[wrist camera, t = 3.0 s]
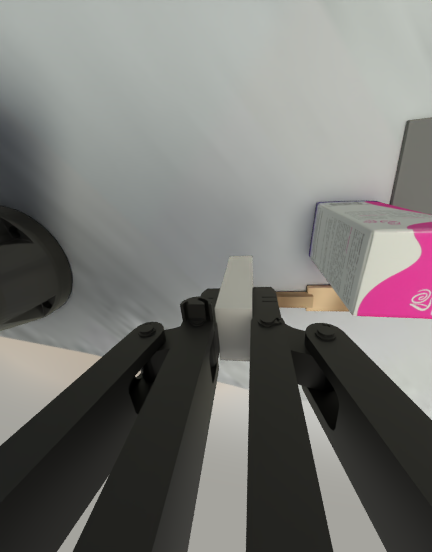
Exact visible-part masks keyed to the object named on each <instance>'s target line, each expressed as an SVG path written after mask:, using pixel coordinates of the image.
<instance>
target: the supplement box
mask: <svg viewBox="0 0 432 552" xmlns="http://www.w3.org/2000/svg"><path fill="white" fill-rule="evenodd" d="M309 256H310V258H311V259H312V260H313V262H314V263H315V264H316V266H317V267H318V269H319V270H320V271H321V273H322V274H323V275H324V277H325V278H326V280H327V281H328V282H329V284H330V285H331V286H332V288H333V289H334V291H335V292H336V293H337V295H338V296H339V297H340V299H341V300H342V302H343V303H344V304H345V306H346V307H347V308H348V310H349V311H350V313H351V314H352V315H353V316H372V317H399V318H425V319H432V215H430V214H425V213H421V212H417V211H413V210H409V209H405V208H401V207H397V206H393V205H389V204H385V203H381V202H377V201H338V202H317V205H316V210H315V218H314V225H313V231H312V238H311V244H310V251H309Z"/></svg>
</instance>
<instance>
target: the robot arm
mask: <svg viewBox="0 0 432 552" xmlns="http://www.w3.org/2000/svg"><path fill="white" fill-rule="evenodd" d="M71 287H72V276H71V270H70V267H69V264H68V261H67V259H66V256H65V254H64V252H63V251H62V249H61V247H60V246H59V244H58V243H57V242H56V240H55V239H54V238H53V237H52V236H51V234H50V233H49V232H48V231H47V230H46V229H45V228H44V227H42V226H41V225H40V224H39V223H38V222H36V221H35V220H33V219H32V218H30V217H29V216H27V215H25V214H23V213H21V212H19V211H17V210H14V209H11V208H7V207H2V206H0V331H2V330H5V329H9V328H12V327H15V326H18V325H22V324H25V323H28V322H31V321H35V320H38V319H41V318H43V317H45V316H47V315H49V314H51V313H52V312H53V311H55V310H56V309H58V308H59V307H61V306H62V305H63V304H64V303H65V302H66V301H67V299H68V297H69V295H70V292H71ZM180 307H181V313H182V318H183V322H182V324H181V326H180V327H177V328H173V329H168V330H164V327H163V325H162V324H161V323H158V322H149V323H144V324H142V325H140V326H138V327H137V328H135V329H134V330H133V331H132V332H130V333H129V334H128V335H127V336H126V337H125V338H124V339H122V340H121V341H120V342H119V343H118V344H117V345H116V346H114V347H113V348H112V349H111V350H110V351H109V352H108V353H106V354H105V355H104V356H103V357H102V358H101V359H100V360H98V361H97V362H96V363H95V364H94V365H93V366H91V367H90V368H89V369H88V370H87V371H86V372H85V373H83V374H82V375H81V376H80V377H79V378H78V379H77V380H75V381H74V382H73V383H72V384H71V385H70V386H69V387H67V388H66V389H65V390H64V391H63V392H62V393H60V394H59V395H58V396H57V397H56V398H55V399H54V400H52V401H51V402H50V403H49V404H48V405H47V406H46V407H44V408H43V409H42V410H41V411H40V412H39V413H38V414H36V415H35V416H34V417H33V418H32V419H31V420H30V421H29V422H27V423H26V424H25V425H24V426H23V427H21V428H20V429H19V430H18V431H17V432H16V433H15V434H13V435H12V436H11V437H10V438H9V439H8V440H7V441H6V442H4V443H3V444H2V445H1V446H0V552H57V551H58V549H59V548H60V546H61V545H62V543H63V542H64V540H65V539H66V537H67V536H68V535H69V533H70V531H71V530H72V528H73V527H74V525H75V524H76V523H77V521H78V520H79V518H80V517H81V515H82V514H83V513H84V511H85V509H86V508H87V507H88V505H89V504H90V502H91V501H92V499H93V498H94V496H95V495H96V493H97V492H98V490H99V489H100V488H101V486H102V484H103V483H104V482H105V480H106V479H107V477H108V476H109V477H108V479H107V481H106V483H105V485H104V487H103V489H102V492H101V494H100V496H99V498H98V500H97V502H96V504H95V506H94V508H93V511H92V512H91V515H90V517H89V519H88V521H87V523H86V525H85V527H84V529H83V531H82V533H81V535H80V538H79V540H78V542H77V544H76V546H75V548H74V550H73V552H187V551H188V545H189V539H190V533H191V527H192V521H193V516H194V510H195V504H196V499H197V493H198V487H199V481H200V475H201V470H202V464H203V458H204V452H205V446H206V441H207V435H208V429H209V423H210V418H211V412H212V406H213V400H214V394H215V389H216V383H217V377H218V371H219V365H218V357H219V353H220V360H232V361H250V380H249V429H248V479H247V528H246V530H247V531H246V552H333V548H332V544H331V539H330V535H329V530H328V525H327V520H326V515H325V511H324V506H323V501H322V496H321V492H320V487H319V482H318V478H317V473H316V468H315V464H314V459H313V454H312V449H311V444H310V440H309V435H308V430H307V426H306V422H305V416H304V412H303V407H302V402H301V397H300V393H299V388H298V384H299V385H302V389H303V391H304V393H305V395H306V397H307V399H308V401H309V403H310V404H311V407H312V408H313V410H314V412H315V414H316V416H317V418H318V420H319V422H320V424H321V426H322V428H323V430H324V432H325V433H326V435H327V437H328V439H329V441H330V443H331V445H332V447H333V448H334V450H335V453H336V455H337V456H338V458H339V460H340V462H341V464H342V466H343V468H344V469H345V472H346V474H347V476H348V477H349V480H350V481H351V483H352V485H353V487H354V489H355V491H356V493H357V495H358V497H359V499H360V501H361V503H362V505H363V506H364V508H365V510H366V512H367V514H368V516H369V518H370V520H371V522H372V524H373V526H374V528H375V529H376V531H377V533H378V535H379V537H380V539H381V541H382V543H383V545H384V547H385V549H386V551H387V552H432V420H431V419H430V418H429V417H428V416H427V415H426V414H425V413H424V412H423V411H422V410H421V409H420V408H419V407H418V406H417V405H416V404H415V403H414V402H413V401H412V400H411V399H410V398H409V397H408V396H407V395H406V394H405V393H404V392H403V391H402V390H401V389H400V388H399V387H398V386H397V385H396V384H395V383H394V382H393V381H392V380H391V379H390V378H389V377H388V376H387V375H386V374H385V373H384V372H383V371H382V370H381V369H380V368H379V367H378V366H377V365H376V364H375V363H374V362H373V361H372V360H371V359H370V358H369V357H368V356H367V355H366V354H365V353H364V352H363V351H362V350H361V349H360V348H359V347H358V346H357V345H356V344H355V343H354V342H353V341H352V340H351V339H350V338H349V337H348V336H347V335H346V334H345V333H344V332H343V331H342V330H341V329H339V328H338V327H336V326H333V325H331V324H326V323H315V324H311V325H309V326H308V327H307V328H306V331H303V330H298V329H295V328H292V327H290V326H288V325H286V324H285V322H284V320H283V318H281V315H280V310H279V305H278V300H277V295H276V291H275V290H274V289H273V288H272V287H253V264H252V256H231V257H229V261H228V264H227V268H226V271H225V275H224V278H223V281H222V285H221V288H220V289H206V290H205V291H204V292H203V293H202V294H201V296H200V297H192V298H189V299H186V300H184V301H183V302H182V303H181V304H180ZM140 370H141V374H140V375H139V376H137V377H135V375H136V374H137V373H138V372H139V371H140ZM109 474H110V475H109Z"/></svg>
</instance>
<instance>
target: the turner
mask: <svg viewBox="0 0 432 552" xmlns="http://www.w3.org/2000/svg"><path fill="white" fill-rule="evenodd" d="M276 295H277V300H278V305H279V307H284V308H306V311H349V310H348V308H347V307H346V306H345V304H344V303H343V302H342V300H341V299H340V297H339V296H338V295H337V293H336V292H335V291H334V289H333V288H332V286H331V285H320V286H307V292H276Z"/></svg>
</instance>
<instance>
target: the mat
mask: <svg viewBox="0 0 432 552" xmlns="http://www.w3.org/2000/svg"><path fill="white" fill-rule="evenodd" d="M390 205H393V206H397V207H401V208H405V209H409V210H413V211H417V212H421V213H425V214H430V215H432V117H431V118H423V119H416V120H409V121H407V124H406V129H405V134H404V138H403V143H402V148H401V153H400V158H399V163H398V168H397V173H396V177H395V182H394V187H393V192H392V197H391V202H390Z"/></svg>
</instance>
